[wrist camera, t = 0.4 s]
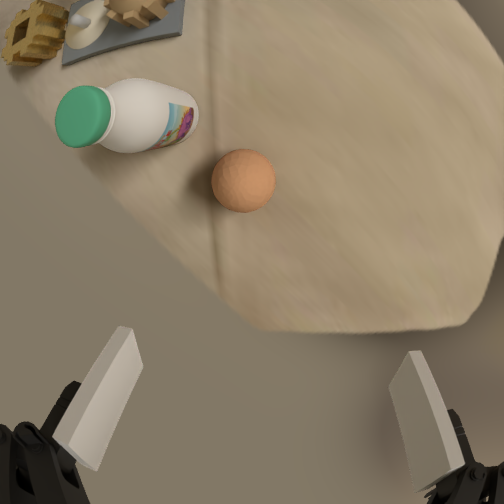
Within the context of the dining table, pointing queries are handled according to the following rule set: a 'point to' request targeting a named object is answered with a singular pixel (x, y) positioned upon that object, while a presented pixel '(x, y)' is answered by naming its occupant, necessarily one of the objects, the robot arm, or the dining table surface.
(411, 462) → the robot arm
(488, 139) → the dining table surface
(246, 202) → the egg
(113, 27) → the gear board
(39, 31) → the gear
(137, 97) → the milk bottle
